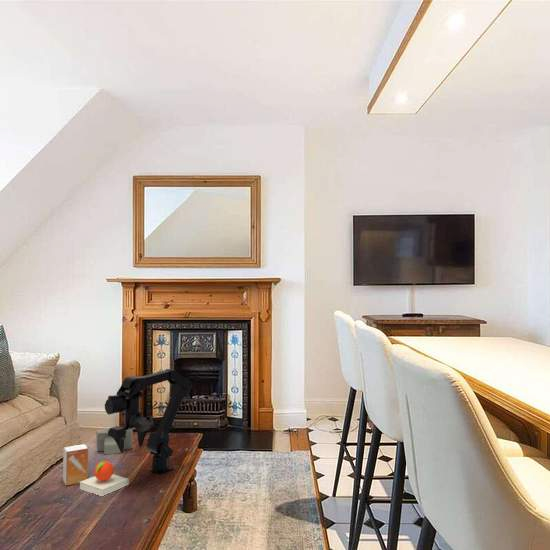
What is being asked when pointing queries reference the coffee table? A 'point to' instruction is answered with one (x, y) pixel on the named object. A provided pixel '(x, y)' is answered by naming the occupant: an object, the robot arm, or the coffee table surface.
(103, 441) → the digital clock
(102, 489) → the book
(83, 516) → the coffee table surface
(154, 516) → the coffee table surface
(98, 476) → the clementine
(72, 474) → the small box
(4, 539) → the coffee table surface
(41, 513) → the coffee table surface
